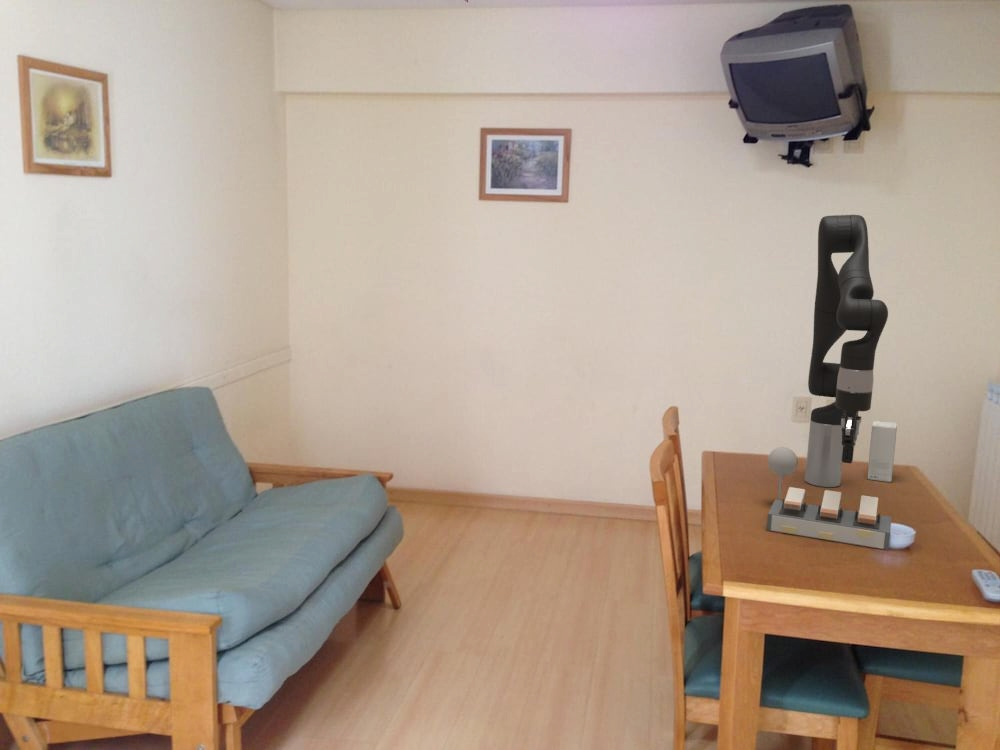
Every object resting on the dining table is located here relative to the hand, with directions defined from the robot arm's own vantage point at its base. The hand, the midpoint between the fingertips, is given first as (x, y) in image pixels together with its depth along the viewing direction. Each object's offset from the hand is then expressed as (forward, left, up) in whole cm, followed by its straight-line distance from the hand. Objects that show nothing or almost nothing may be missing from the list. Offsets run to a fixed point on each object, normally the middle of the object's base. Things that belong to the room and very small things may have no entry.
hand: (847, 462), depth 206 cm
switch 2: (+1, -3, -11) cm, 11 cm away
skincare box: (-55, +6, -17) cm, 58 cm away
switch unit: (+1, -3, -17) cm, 17 cm away
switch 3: (+1, +5, -11) cm, 12 cm away
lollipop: (-14, -16, -17) cm, 27 cm away
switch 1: (+1, -11, -11) cm, 15 cm away
